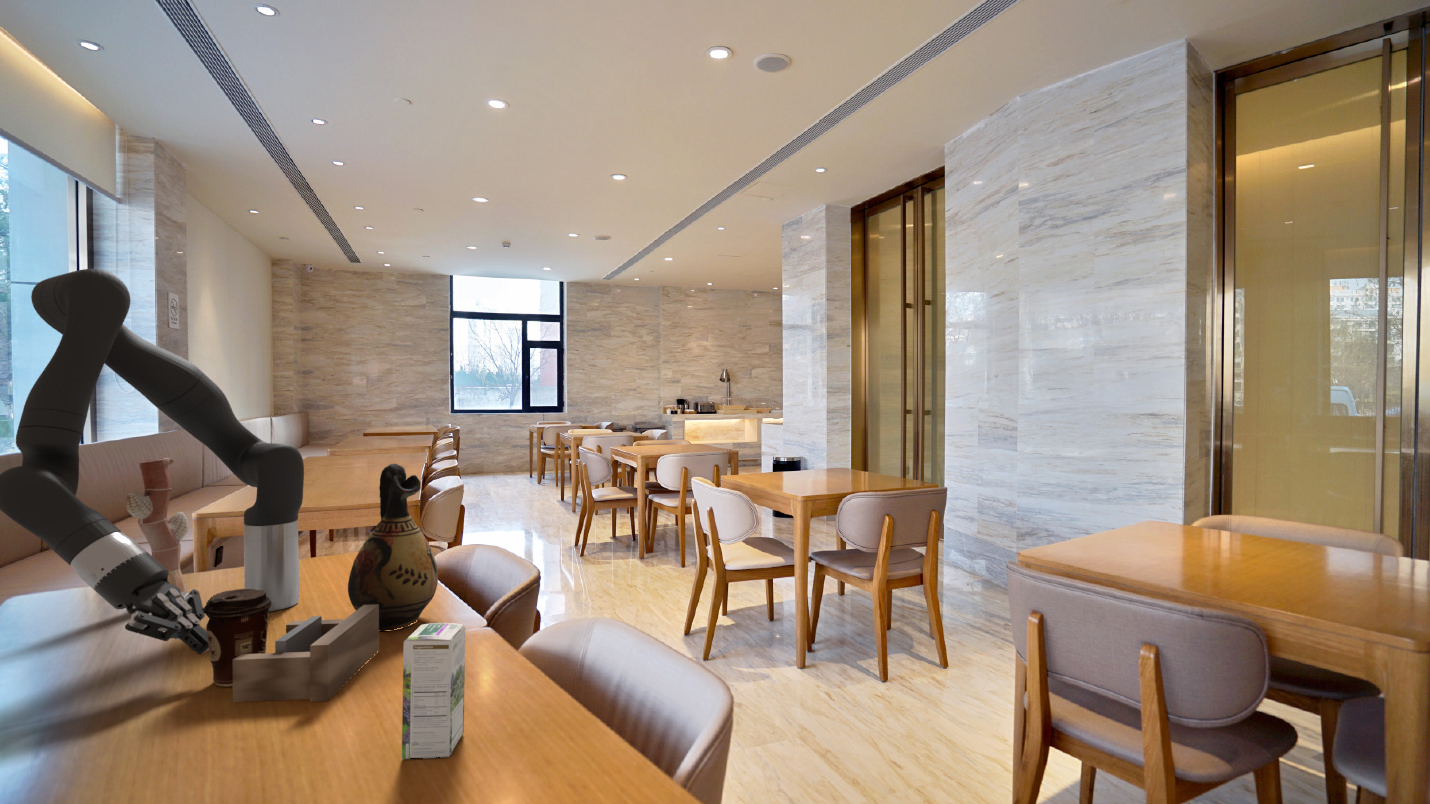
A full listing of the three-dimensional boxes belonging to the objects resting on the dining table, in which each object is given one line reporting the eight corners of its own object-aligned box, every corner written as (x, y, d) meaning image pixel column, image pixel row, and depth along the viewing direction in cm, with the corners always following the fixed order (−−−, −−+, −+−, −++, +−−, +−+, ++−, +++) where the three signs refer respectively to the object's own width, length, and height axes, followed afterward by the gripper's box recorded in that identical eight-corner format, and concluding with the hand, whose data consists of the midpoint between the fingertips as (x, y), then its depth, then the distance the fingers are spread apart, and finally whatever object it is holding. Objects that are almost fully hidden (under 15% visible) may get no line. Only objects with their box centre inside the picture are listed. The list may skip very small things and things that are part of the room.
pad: (275, 688, 96) (275, 641, 96) (312, 659, 107) (312, 616, 107) (285, 688, 96) (285, 640, 96) (321, 658, 107) (321, 615, 107)
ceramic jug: (452, 622, 126) (452, 465, 125) (366, 644, 115) (365, 472, 114) (415, 602, 138) (414, 459, 137) (333, 621, 126) (332, 464, 126)
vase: (185, 593, 143) (184, 455, 142) (196, 600, 138) (195, 457, 138) (121, 606, 134) (119, 459, 134) (130, 613, 130) (128, 461, 130)
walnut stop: (228, 705, 92) (228, 648, 92) (296, 654, 110) (295, 606, 110) (328, 701, 94) (327, 644, 93) (378, 651, 111) (378, 604, 111)
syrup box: (418, 735, 84) (418, 622, 84) (466, 734, 85) (465, 621, 85) (401, 760, 79) (400, 639, 78) (452, 758, 79) (451, 638, 79)
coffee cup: (195, 695, 95) (195, 606, 95) (208, 673, 102) (207, 590, 102) (268, 683, 99) (268, 597, 99) (275, 663, 106) (275, 583, 106)
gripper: (103, 563, 92) (197, 647, 94) (171, 541, 106) (253, 616, 107) (62, 601, 92) (157, 685, 93) (135, 575, 105) (218, 649, 106)
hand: (208, 648), depth 100 cm, fingers closed
